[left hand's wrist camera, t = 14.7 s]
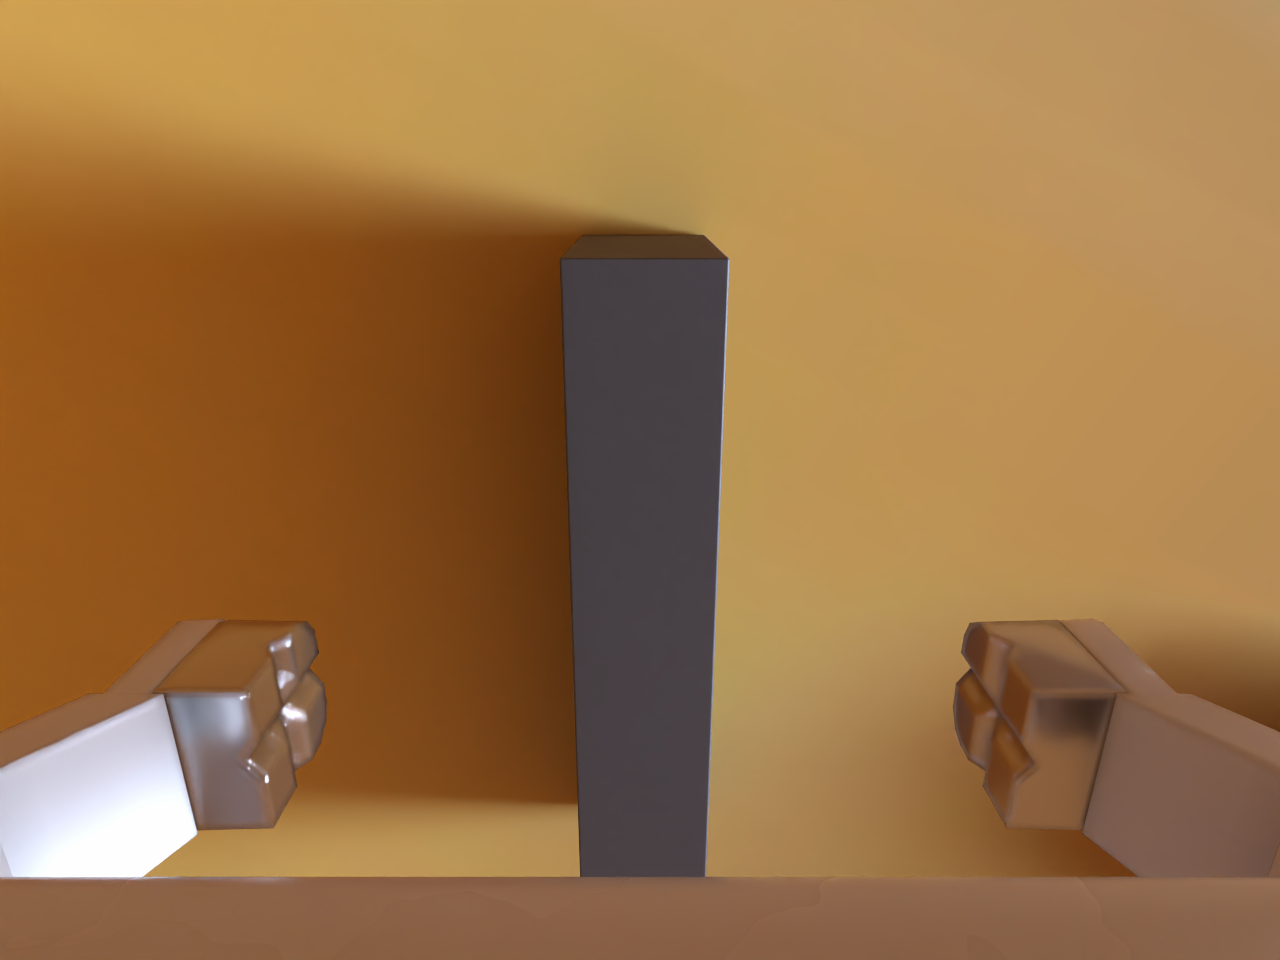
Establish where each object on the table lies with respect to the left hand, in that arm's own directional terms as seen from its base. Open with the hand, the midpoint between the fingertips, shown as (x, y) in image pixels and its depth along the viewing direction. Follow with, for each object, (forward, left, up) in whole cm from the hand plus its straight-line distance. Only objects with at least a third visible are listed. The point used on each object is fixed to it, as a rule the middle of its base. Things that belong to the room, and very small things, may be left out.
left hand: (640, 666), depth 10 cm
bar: (+8, +5, -23) cm, 25 cm away
